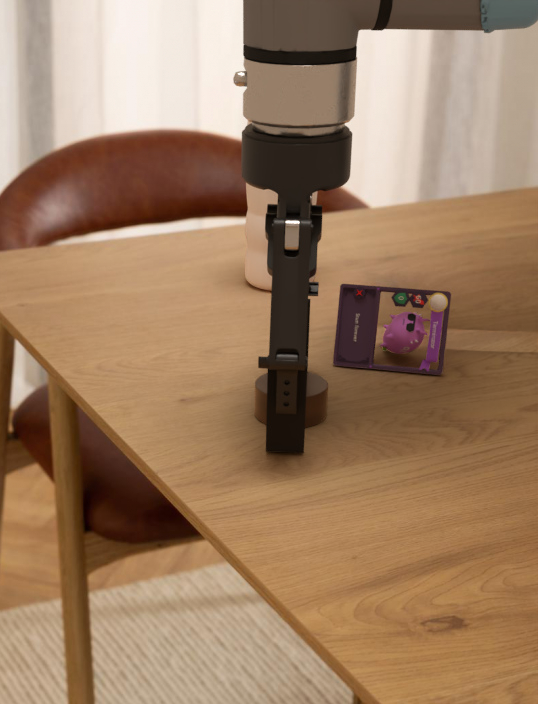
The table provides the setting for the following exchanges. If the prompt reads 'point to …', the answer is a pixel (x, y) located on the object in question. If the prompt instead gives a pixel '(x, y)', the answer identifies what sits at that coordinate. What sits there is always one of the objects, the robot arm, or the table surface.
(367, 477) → the table surface
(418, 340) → the game card
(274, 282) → the robot arm
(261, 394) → the brown wooden puck
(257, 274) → the water bottle
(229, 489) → the table surface
